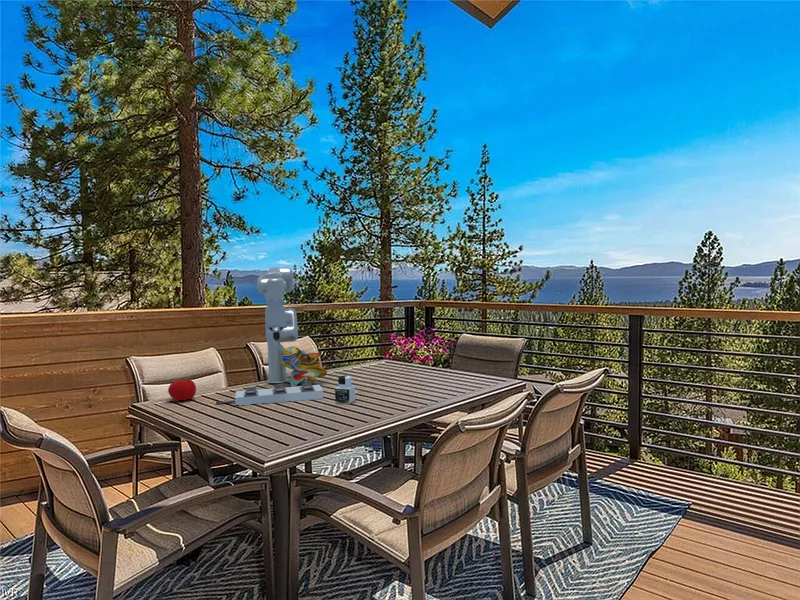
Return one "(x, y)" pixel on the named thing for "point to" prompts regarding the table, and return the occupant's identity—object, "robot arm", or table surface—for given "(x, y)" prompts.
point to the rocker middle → (279, 388)
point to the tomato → (182, 389)
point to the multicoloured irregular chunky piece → (302, 365)
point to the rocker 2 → (307, 386)
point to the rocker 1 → (250, 390)
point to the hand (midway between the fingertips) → (276, 340)
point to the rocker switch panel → (277, 395)
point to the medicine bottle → (344, 390)
